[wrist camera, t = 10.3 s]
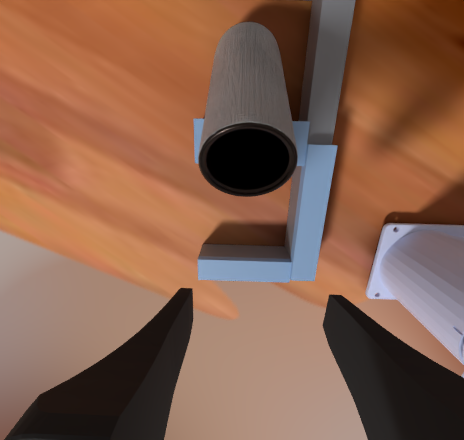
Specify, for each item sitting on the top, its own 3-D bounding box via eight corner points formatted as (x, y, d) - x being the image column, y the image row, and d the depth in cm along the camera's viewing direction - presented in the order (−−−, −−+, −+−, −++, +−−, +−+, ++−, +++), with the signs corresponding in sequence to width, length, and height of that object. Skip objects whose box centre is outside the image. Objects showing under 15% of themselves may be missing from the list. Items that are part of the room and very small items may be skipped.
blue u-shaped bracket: (335, 123, 16) (341, 121, 15) (309, 279, 20) (313, 285, 19) (195, 119, 16) (192, 117, 15) (199, 275, 20) (197, 282, 19)
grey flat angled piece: (346, -37, 15) (366, -70, 13) (302, 264, 23) (309, 279, 20) (197, -40, 15) (190, -73, 13) (203, 261, 23) (199, 275, 20)
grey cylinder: (225, 100, 18) (216, 203, 13) (204, 33, 15) (179, 137, 9) (282, 85, 17) (299, 190, 12) (275, 9, 13) (296, 110, 8)
